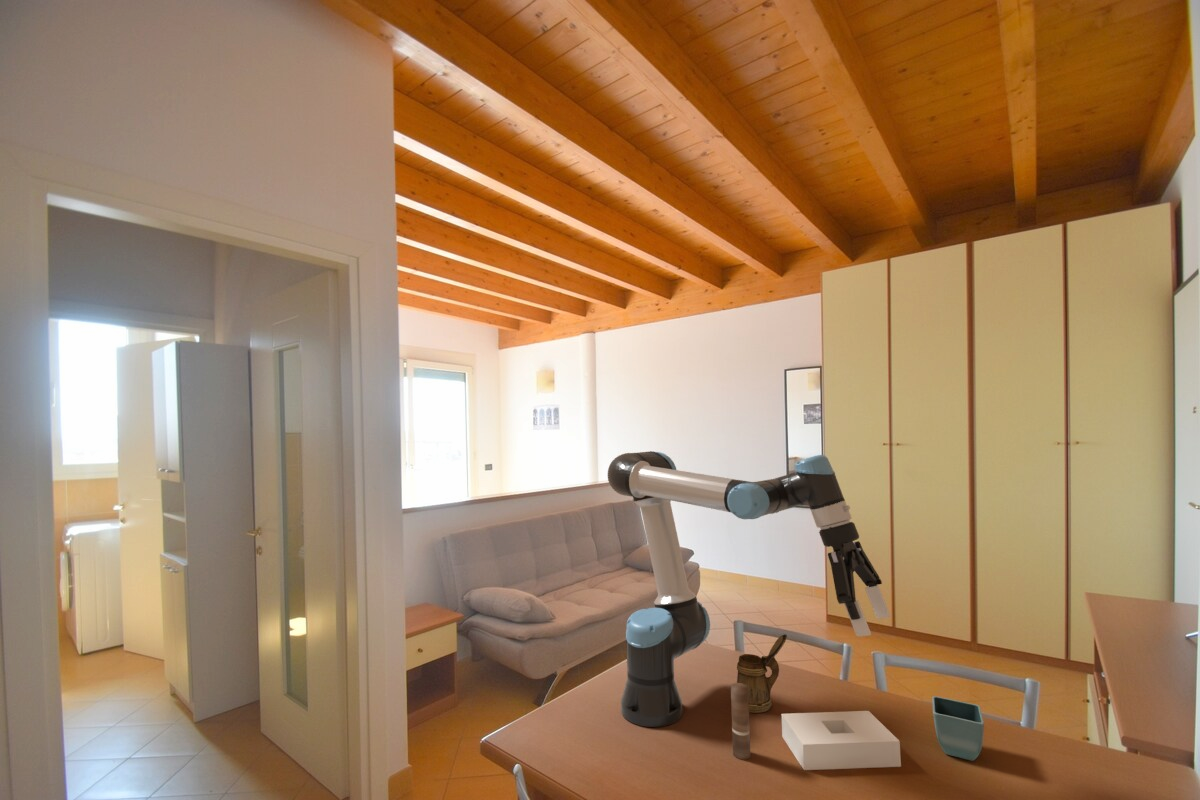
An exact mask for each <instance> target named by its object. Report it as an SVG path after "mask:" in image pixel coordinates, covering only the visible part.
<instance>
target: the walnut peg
mask: <svg viewBox="0 0 1200 800" xmlns="http://www.w3.org/2000/svg"><path fill="white" fill-rule="evenodd" d="M730 700H731V701H730V706H731V732H732V733H731V734H732V736H731V737H732V755H733V757H734V758H736V759H739V760H743V761H744V760H748V759H749V760H750V758H751V737H750V736H751V733H750V732H751V731H750V712H749V703H748V687H747V685H745V684H742V683H737V682H734V683H731V684H730Z"/></svg>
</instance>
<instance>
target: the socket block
mask: <svg viewBox="0 0 1200 800" xmlns="http://www.w3.org/2000/svg"><path fill="white" fill-rule="evenodd" d="M780 715H781V735H782V739H783V740H784V742H785V743H786V745H787V746H788V748H789V749H790V751H791V752H792V754H793V755H794V757H795V758H796V760H797V762H798V763H799V764H800V766H801V767H802V769H803V770H804V771H814V770H815V771H816V770H817V771H820V770H822V771H823V770H843V769H844V770H845V769H850V770H851V769H867V768H868V769H870V768H871V769H873V768H900V767H902V762H901V758H902V757H901V745H900V744H901V742H900V740H899V738H897V737H896V736H895V735H894V734H893V733H892V732H891V731H890V730H889V729H888V728H887V727H886V726H885V725H884V724H883V723H882V722H881V721H879V719H878V718H877V717H876V716H875V715H873V714H872V712H870V711H869V710H857V711H855V710H852V711H851V710H850V711H825V712H822V711H821V712H795V713H781V714H780Z"/></svg>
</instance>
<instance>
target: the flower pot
mask: <svg viewBox="0 0 1200 800" xmlns="http://www.w3.org/2000/svg"><path fill="white" fill-rule="evenodd" d="M931 698H932V699H931V700H932V714H933V716H932V717H933V720H934V729H935V733H936V737H937V742H938V744H939V745H940V748H941V750H943V752H944V754H945V755H949V756H952V757H956V758H959V759H964V760H967V761H972V762H973V761H974V762H975V760H976V759H977V758H978V757H979V756H980V754H981V751H982V748H983V743H984V742H983V741H984V731H985V730H984V728H985V722H984V718H983V715H982V709H981V706H980V705H979V704H974V703H970V702H964V701H959V700H955V699H951V698H945V697H941V696H934V695H933V696H931Z"/></svg>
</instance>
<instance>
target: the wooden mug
mask: <svg viewBox="0 0 1200 800" xmlns="http://www.w3.org/2000/svg"><path fill="white" fill-rule="evenodd" d="M787 639H788V635H787V634H782V635H781V636H779V637H778V638H777V639H776V640H775V642H774V644H773V645H772V647H771V648H770V650H769V653H768V655H762V656H759V655H756V654H751V653H750V654H749V653H747V654H746V653H744V654H742V655H739V656H738V662H737V664H736V670H737V677H736V678H737V679H736V683H742V684H745V685H747V687H748V703H749V713H752V714H753V713H754V714H759V713H765V712H768V711H769V710H770V709H771V708H772V705H773V701H772V697H771V693H772V692H771V691H772V688H773V686H774V684H775V683H776V682H777V679H778V677H779V672H780V667H779V663H778V661H777V660H776V658H775V657H776V656H777V654H779V652H780V651H781V649H782V648H783V647H784V645H785V643H786V641H787ZM768 667H769V669H770V670H771V674H770V676H766V673H767V672H768Z"/></svg>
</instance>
